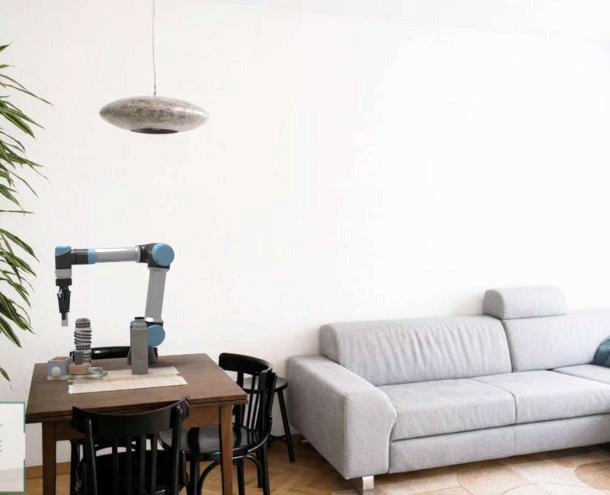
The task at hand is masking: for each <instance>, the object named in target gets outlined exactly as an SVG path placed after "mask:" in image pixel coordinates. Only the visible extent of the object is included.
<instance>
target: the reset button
mask: <svg viewBox="0 0 610 495" xmlns="http://www.w3.org/2000/svg"><path fill="white" fill-rule="evenodd" d="M55 357H56V358H55ZM55 357H54V358H55V360H65V359H66V357H67V356H55Z"/></svg>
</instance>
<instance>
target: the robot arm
mask: <svg viewBox="0 0 610 495" xmlns="http://www.w3.org/2000/svg"><path fill="white" fill-rule="evenodd" d="M174 260H175V251H174V249H173V248H172V246H170V245H169V244H168V243H164V242H152V243H146V244H137V245H135V246H133V247H131V246H130V247H128V246H127V247H126V246H125V247H100V248H98V247H96V248H73V249H72V247H71V246H70V245H57V246H55V249H54V274H55V281H54V282H55V287H58V293H56V296H57V303H58V304H57V305H58V314H60V316H61V317H60V318H61V321H60V322H61V323H60V325H61V327H62V328H63V327H64V328H65V327H69V313H70V312H71V311H70V310H71V307H70V306H71V294H72V291H71V290H70V287H71V286H73V278H72V277H73V271H72V270H73V268H72V267H73V266H80V265H81V266H84V265H87V266H88V265H90V266H91V265H95V264H97V263H98V264H99V263H100V264H104V263H127V262H134V263H136V264H147V265H146V266H147V269H148V270H149V275H148V284H147V292H146V302H145V310H144V316H143V317H145V318H144V320H145V323H146V327H147V328H148V365H149V364H153V363H156V362H157V357H156V354H155V351H154V348H155V347H156V348H157V347H159V346H160V345H162V344H163V342H164V340H165V338H166V331H165V329H164V322H165V321H164V320H163V319H162V312H163V304H164V297H165V295H164V294H165V289H166V288H165V287H166V281H167V280H166V279H167V273H168V272H169V271H170V269H171V264H172V263H173V262H174ZM134 320H135V319H134ZM134 320H131V321H130V325H129V338H130V339H129V341H130V342H129V345H130V348H129V351H128V353H127V354H128V355H127V358H126V364H129V365H132V364H131V328H133V323H134Z"/></svg>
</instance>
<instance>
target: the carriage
mask: <svg viewBox="0 0 610 495" xmlns="http://www.w3.org/2000/svg"><path fill="white" fill-rule="evenodd" d="M74 360H75V361H74V362H73V363H72V364H70V365H69V366H68V369H69V374H86V373H87V367H89V366H90V363H84V358H83V351H77V352H75V351H74ZM90 367H91V366H90Z"/></svg>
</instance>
